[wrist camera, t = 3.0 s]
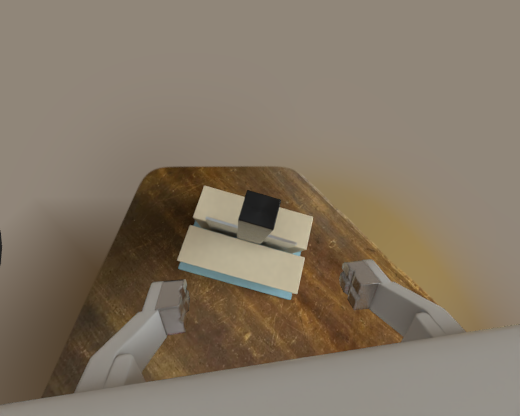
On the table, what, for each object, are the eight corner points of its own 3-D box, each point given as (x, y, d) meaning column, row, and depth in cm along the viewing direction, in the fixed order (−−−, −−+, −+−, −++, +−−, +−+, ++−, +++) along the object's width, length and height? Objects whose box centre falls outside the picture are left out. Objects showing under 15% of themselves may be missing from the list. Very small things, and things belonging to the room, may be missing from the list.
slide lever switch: (178, 268, 28) (162, 268, 22) (205, 193, 31) (198, 173, 24) (289, 299, 28) (305, 307, 22) (306, 222, 31) (324, 210, 25)
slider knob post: (209, 237, 25) (183, 204, 12) (215, 222, 25) (195, 174, 13) (281, 258, 25) (326, 245, 13) (284, 242, 25) (332, 214, 13)
